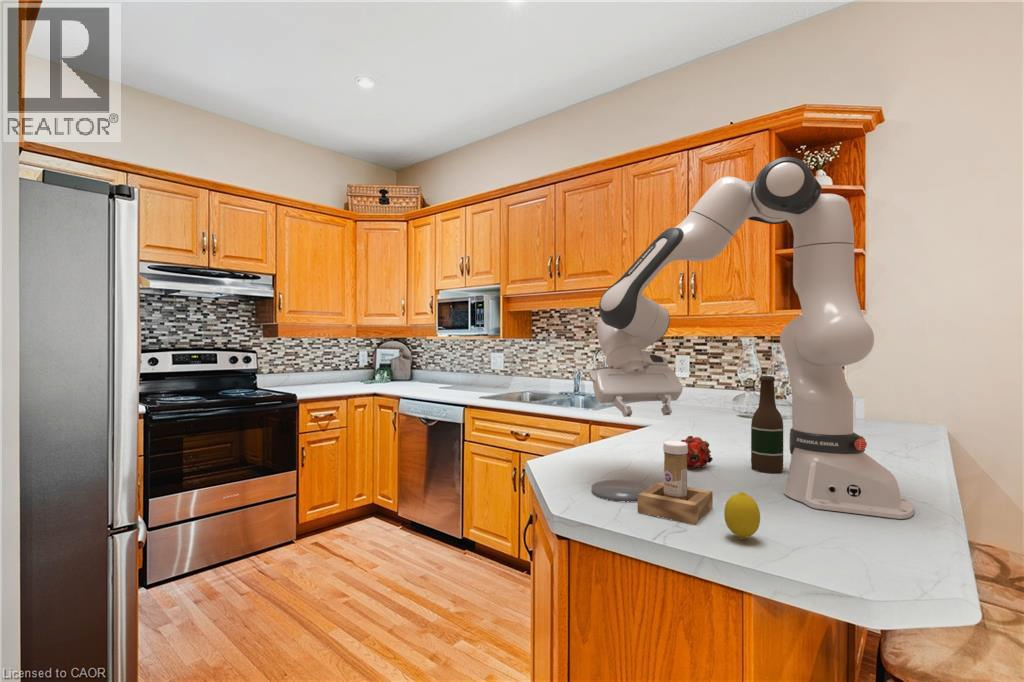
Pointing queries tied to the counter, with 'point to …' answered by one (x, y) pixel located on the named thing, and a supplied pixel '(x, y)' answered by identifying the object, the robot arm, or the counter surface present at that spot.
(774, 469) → the beer bottle
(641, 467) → the counter surface
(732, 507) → the lemon
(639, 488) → the slate coaster
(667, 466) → the sprinkles bottle
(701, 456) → the dragon fruit
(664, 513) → the frame
